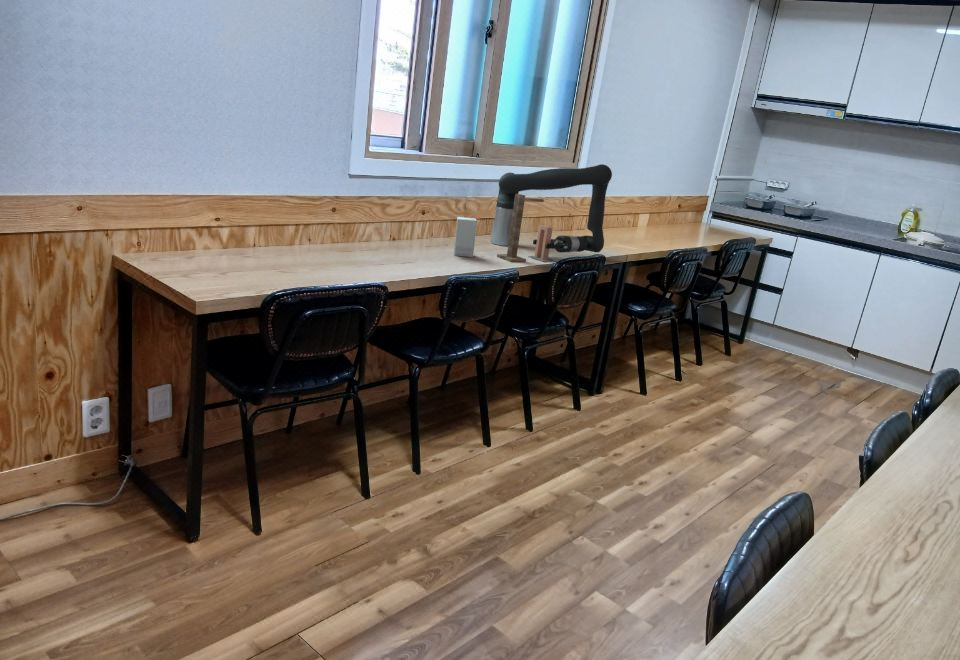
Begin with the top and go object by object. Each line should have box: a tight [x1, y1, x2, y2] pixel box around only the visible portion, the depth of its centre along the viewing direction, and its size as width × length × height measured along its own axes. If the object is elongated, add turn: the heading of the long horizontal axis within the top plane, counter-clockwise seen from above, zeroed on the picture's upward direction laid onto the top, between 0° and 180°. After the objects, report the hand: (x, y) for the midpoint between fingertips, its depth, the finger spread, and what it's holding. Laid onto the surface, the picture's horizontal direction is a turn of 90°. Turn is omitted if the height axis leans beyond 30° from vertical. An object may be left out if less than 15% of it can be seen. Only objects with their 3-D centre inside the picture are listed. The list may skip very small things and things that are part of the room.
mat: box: [527, 255, 558, 263], centre depth 326 cm, size 10×8×1 cm
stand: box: [496, 193, 545, 263], centre depth 315 cm, size 10×17×28 cm, turn 127°
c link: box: [534, 224, 554, 259], centre depth 325 cm, size 6×3×14 cm, turn 36°
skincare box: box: [453, 216, 478, 258], centre depth 310 cm, size 8×7×16 cm
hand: (539, 244), depth 324 cm, fingers open, 8 cm apart
